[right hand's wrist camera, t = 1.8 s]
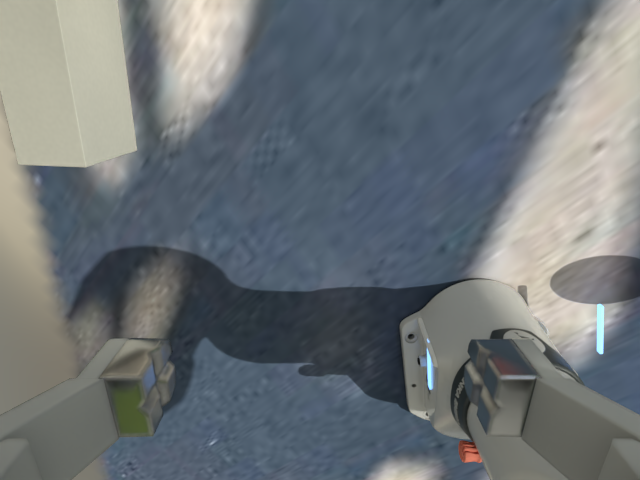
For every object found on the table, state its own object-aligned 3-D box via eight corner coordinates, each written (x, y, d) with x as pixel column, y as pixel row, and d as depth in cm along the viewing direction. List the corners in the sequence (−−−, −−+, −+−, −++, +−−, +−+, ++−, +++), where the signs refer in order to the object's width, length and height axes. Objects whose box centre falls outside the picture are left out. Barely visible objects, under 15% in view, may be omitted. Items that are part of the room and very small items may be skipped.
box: (137, 150, 43) (86, 167, 33) (83, 148, 43) (17, 164, 33) (106, -87, 35) (28, -149, 26) (40, -89, 35) (-60, -152, 26)
